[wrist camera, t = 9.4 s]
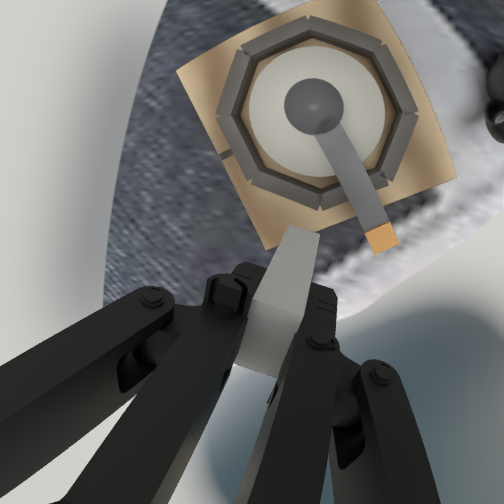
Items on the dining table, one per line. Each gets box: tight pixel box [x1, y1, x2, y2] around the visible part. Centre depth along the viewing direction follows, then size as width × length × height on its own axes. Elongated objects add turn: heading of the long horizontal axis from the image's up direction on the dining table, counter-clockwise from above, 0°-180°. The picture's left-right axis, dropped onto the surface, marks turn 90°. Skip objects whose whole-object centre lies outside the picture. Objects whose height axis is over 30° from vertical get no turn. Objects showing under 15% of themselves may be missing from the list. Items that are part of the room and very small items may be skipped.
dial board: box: [176, 0, 457, 250], centre depth 22 cm, size 18×18×4 cm
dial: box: [249, 46, 399, 255], centre depth 20 cm, size 15×10×6 cm, turn 32°
